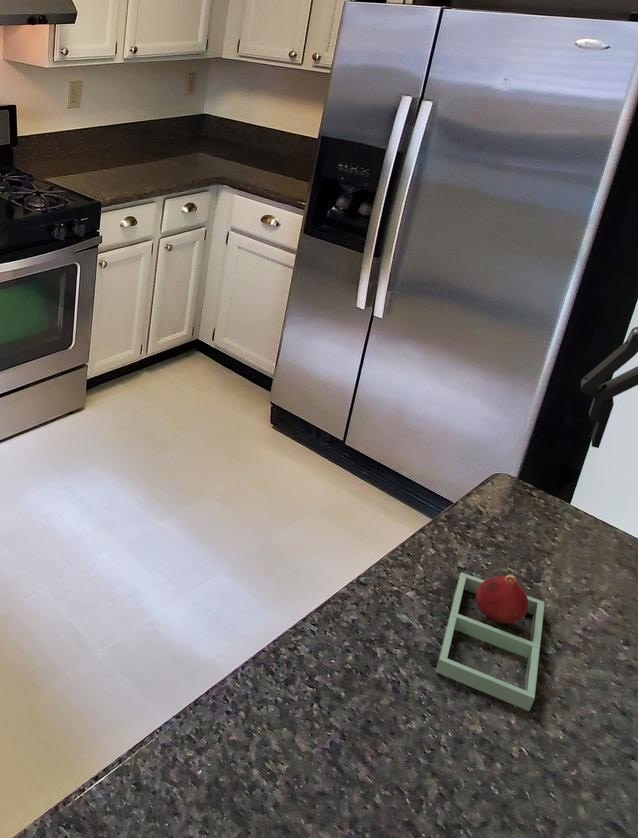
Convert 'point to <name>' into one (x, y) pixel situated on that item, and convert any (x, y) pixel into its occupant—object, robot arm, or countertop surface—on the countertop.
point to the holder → (498, 639)
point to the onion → (502, 599)
